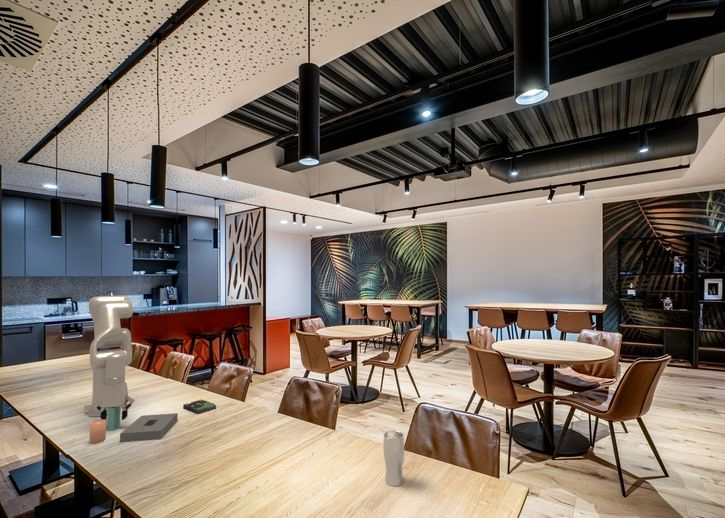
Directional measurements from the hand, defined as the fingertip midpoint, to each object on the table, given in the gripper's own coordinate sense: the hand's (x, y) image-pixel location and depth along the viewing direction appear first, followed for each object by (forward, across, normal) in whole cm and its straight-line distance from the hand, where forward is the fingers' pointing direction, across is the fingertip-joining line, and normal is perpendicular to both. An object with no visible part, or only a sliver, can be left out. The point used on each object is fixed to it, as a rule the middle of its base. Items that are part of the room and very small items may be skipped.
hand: (114, 419), depth 163 cm
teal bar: (+4, 0, 0) cm, 4 cm away
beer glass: (+5, +116, -65) cm, 133 cm away
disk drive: (+5, +32, +19) cm, 38 cm away
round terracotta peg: (+4, 0, -13) cm, 14 cm away
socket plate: (+4, +18, -6) cm, 19 cm away
